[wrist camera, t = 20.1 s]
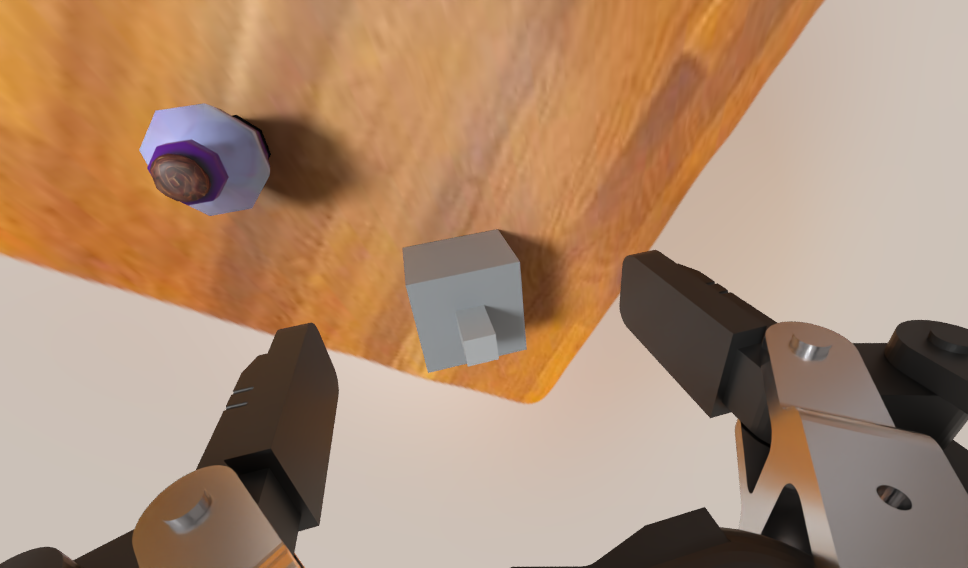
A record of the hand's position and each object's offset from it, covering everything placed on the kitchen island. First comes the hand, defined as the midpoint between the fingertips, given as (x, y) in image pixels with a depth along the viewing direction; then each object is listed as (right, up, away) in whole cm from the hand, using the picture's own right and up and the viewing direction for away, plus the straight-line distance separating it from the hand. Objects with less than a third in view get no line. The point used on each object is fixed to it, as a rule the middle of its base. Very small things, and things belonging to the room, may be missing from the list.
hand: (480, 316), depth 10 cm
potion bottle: (-23, +14, +26) cm, 37 cm away
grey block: (-3, +1, +37) cm, 38 cm away
